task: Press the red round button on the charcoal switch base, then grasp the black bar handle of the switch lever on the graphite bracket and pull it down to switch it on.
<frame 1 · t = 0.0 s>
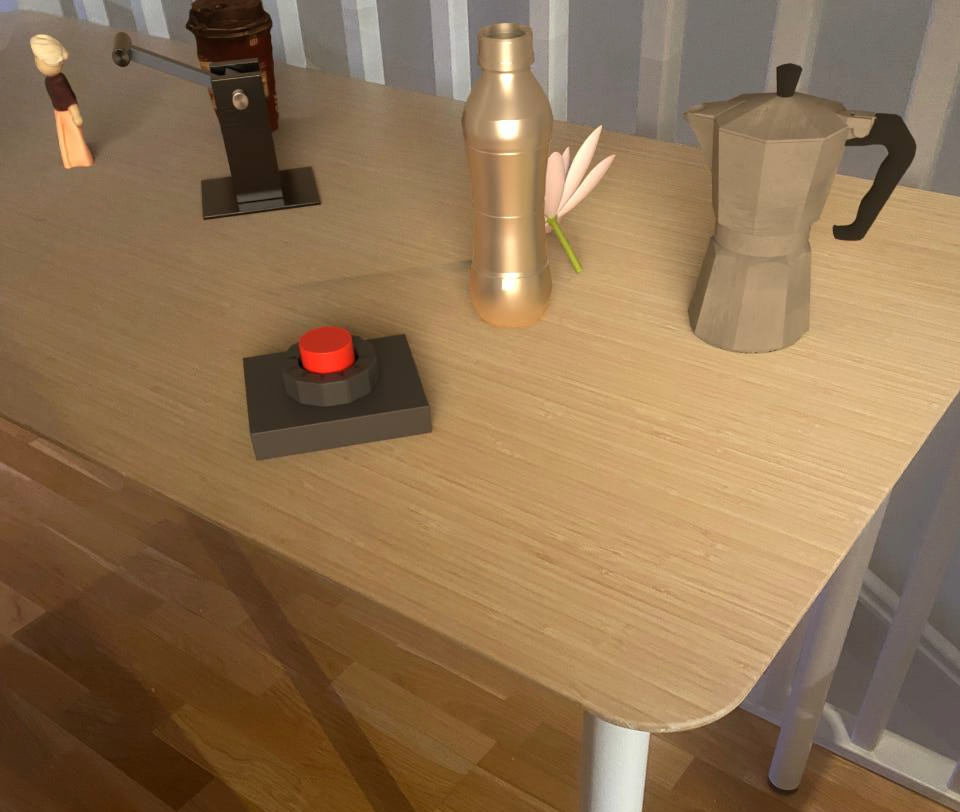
grandmother figurine: (85, 173, 104), on the table
lever bracket: (261, 203, 96), on the table
switch lever: (185, 71, 87), point 12 cm above the table, hinge at 25.0°
start button: (327, 351, 67), point 4 cm above the table, slide at 0.1 cm
switch base: (336, 407, 70), on the table
coffee cup: (251, 140, 108), on the table
coffeepot: (760, 329, 75), on the table
gold metal bottle: (511, 319, 78), on the table
water lily: (540, 256, 86), on the table
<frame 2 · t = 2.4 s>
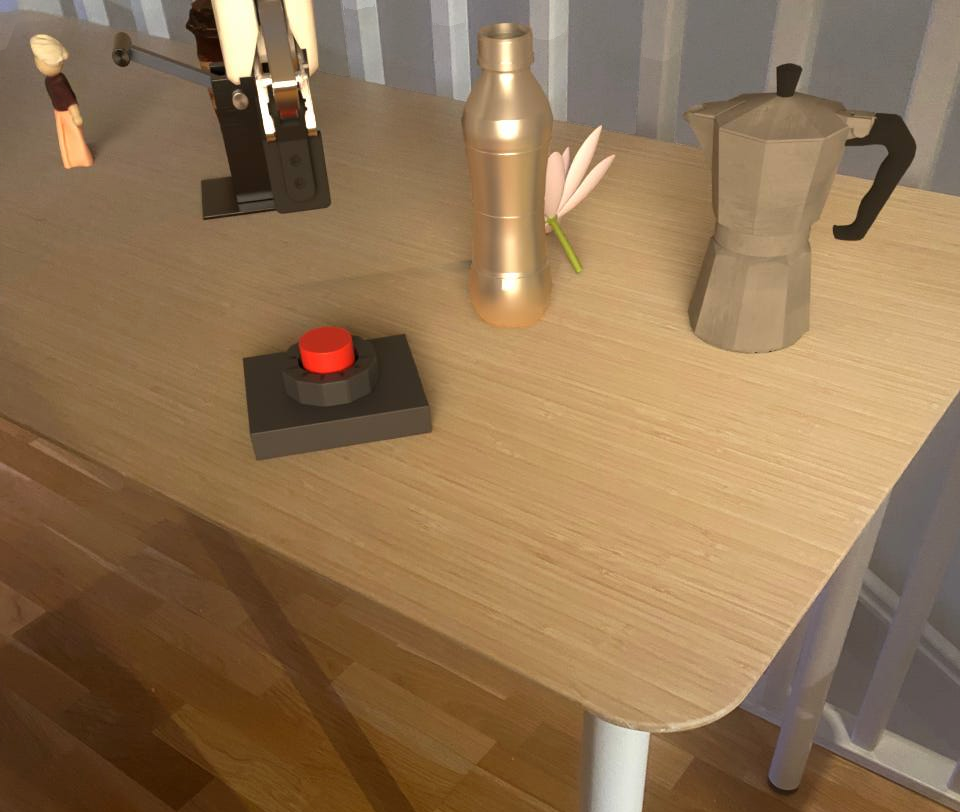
hand: (298, 182, 59), 16 cm above the table, tool pointing down, fingers open, 6 cm apart
nothing on the table moved.
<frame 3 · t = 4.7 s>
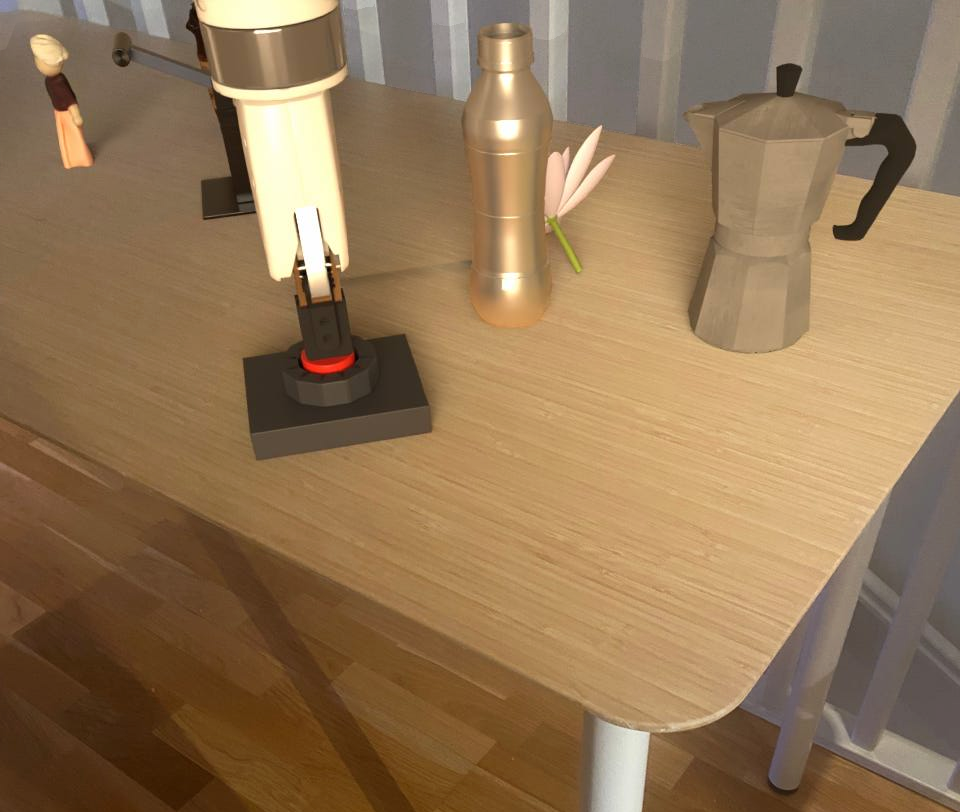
hand: (329, 351, 67), 4 cm above the table, tool pointing down, fingers closed
start button: (329, 363, 68), point 4 cm above the table, slide at -0.8 cm, touching gripper
everything else where it was.
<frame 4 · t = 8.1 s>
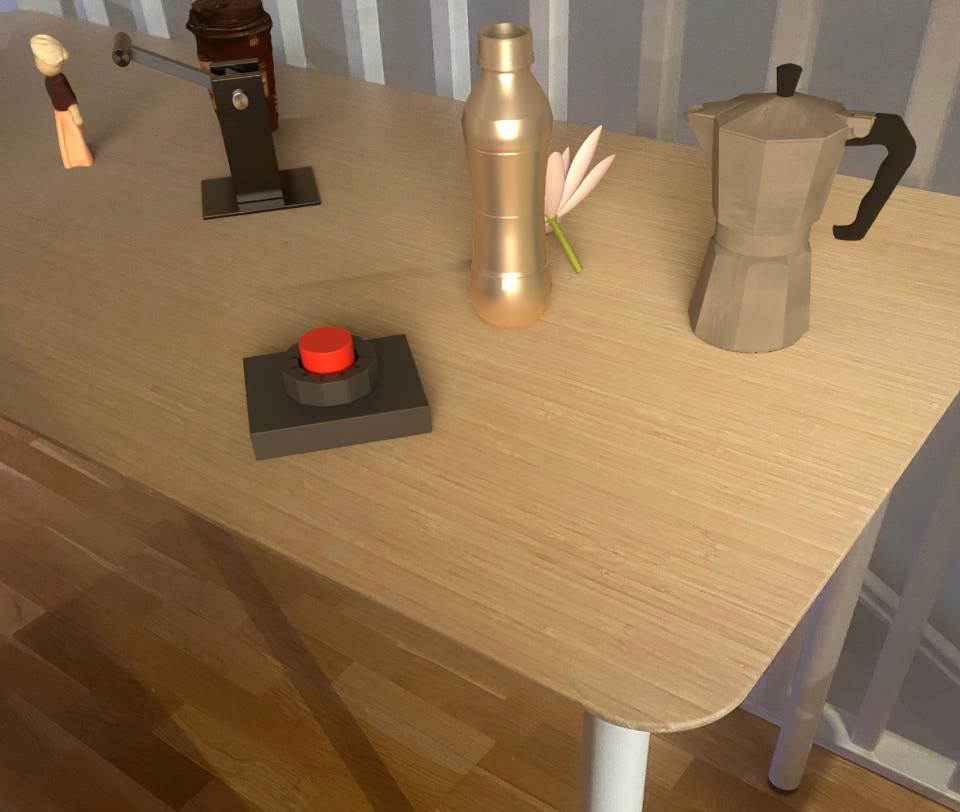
start button: (327, 351, 67), point 4 cm above the table, slide at 0.1 cm
everything else where it was.
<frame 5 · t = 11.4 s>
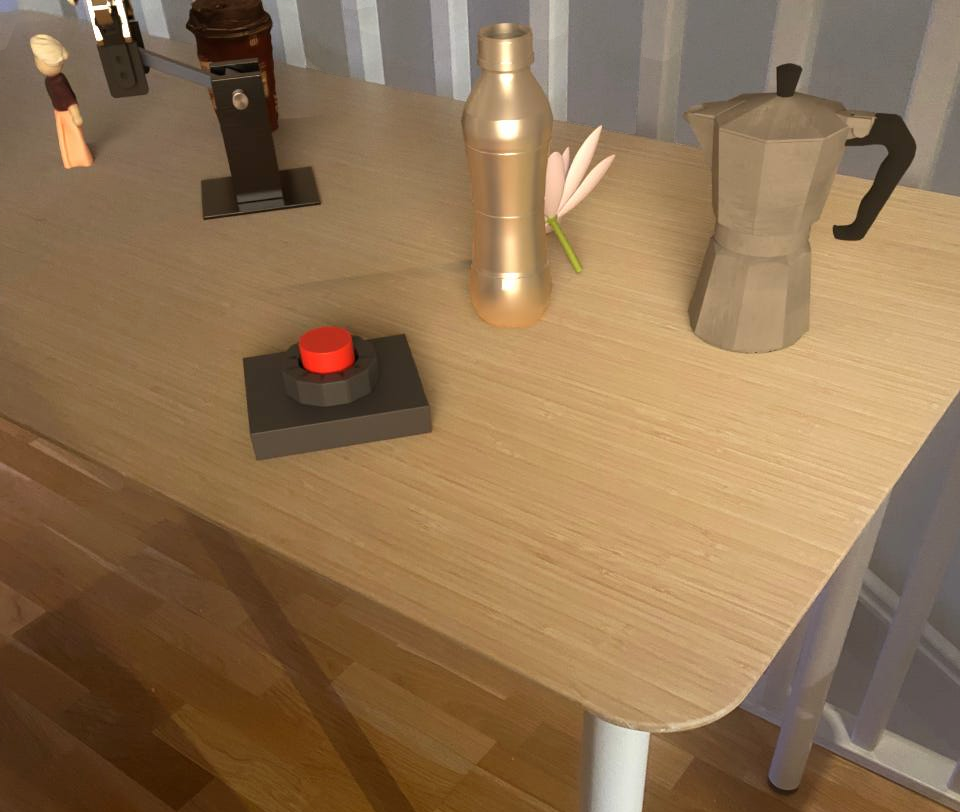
hand: (131, 82, 86), 12 cm above the table, tool pointing down, fingers closed on switch lever, 5 cm apart
switch lever: (185, 71, 87), point 12 cm above the table, hinge at 25.0°, touching gripper
everything else where it was.
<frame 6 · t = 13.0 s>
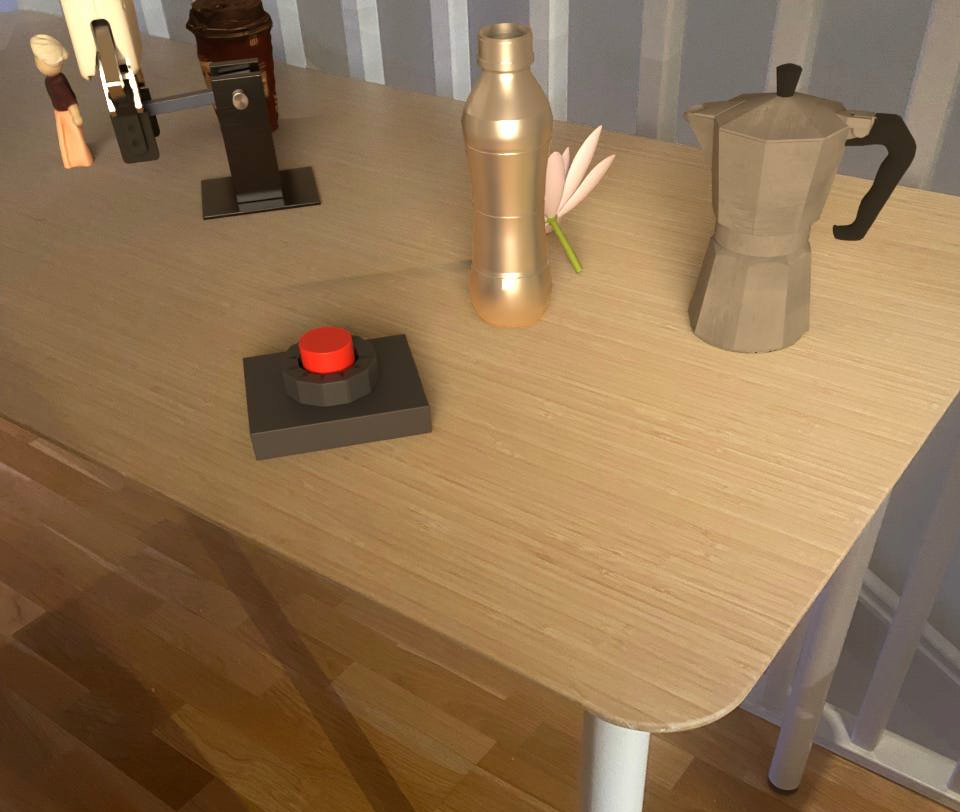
hand: (142, 146, 90), 6 cm above the table, tool pointing down, fingers closed on switch lever, 5 cm apart
switch lever: (187, 100, 88), point 10 cm above the table, hinge at -4.0°, touching gripper
everything else where it was.
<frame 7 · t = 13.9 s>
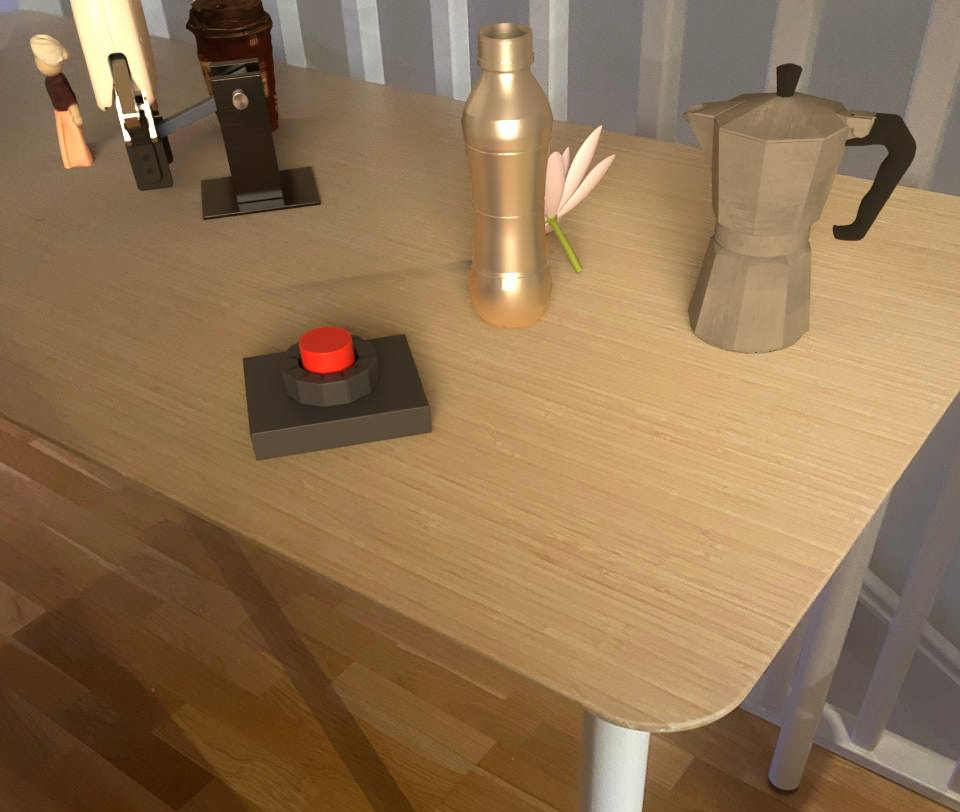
hand: (156, 173, 92), 4 cm above the table, tool pointing down, fingers open, 5 cm apart
switch lever: (193, 113, 89), point 9 cm above the table, hinge at -17.8°
everything else where it was.
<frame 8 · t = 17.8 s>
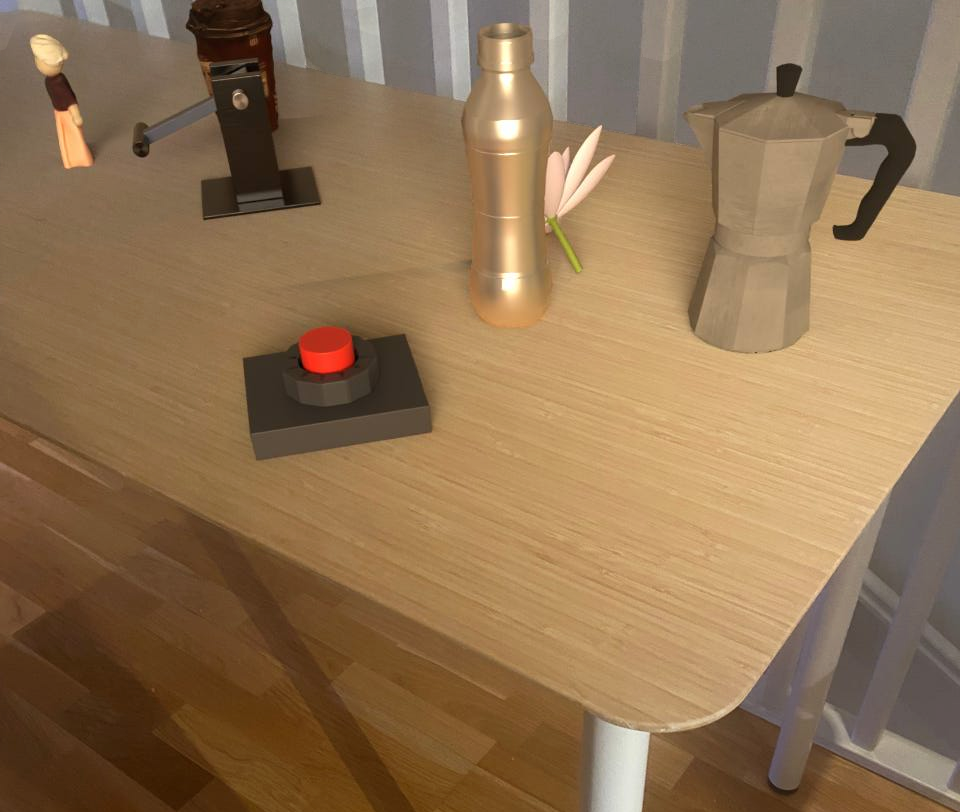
nothing on the table moved.
at the end: start button pushed in 1.1 cm at the most during the clip, back to where it started at the end; start button slide at 0.1 cm; switch lever at -18° (first picture: +25°) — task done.
